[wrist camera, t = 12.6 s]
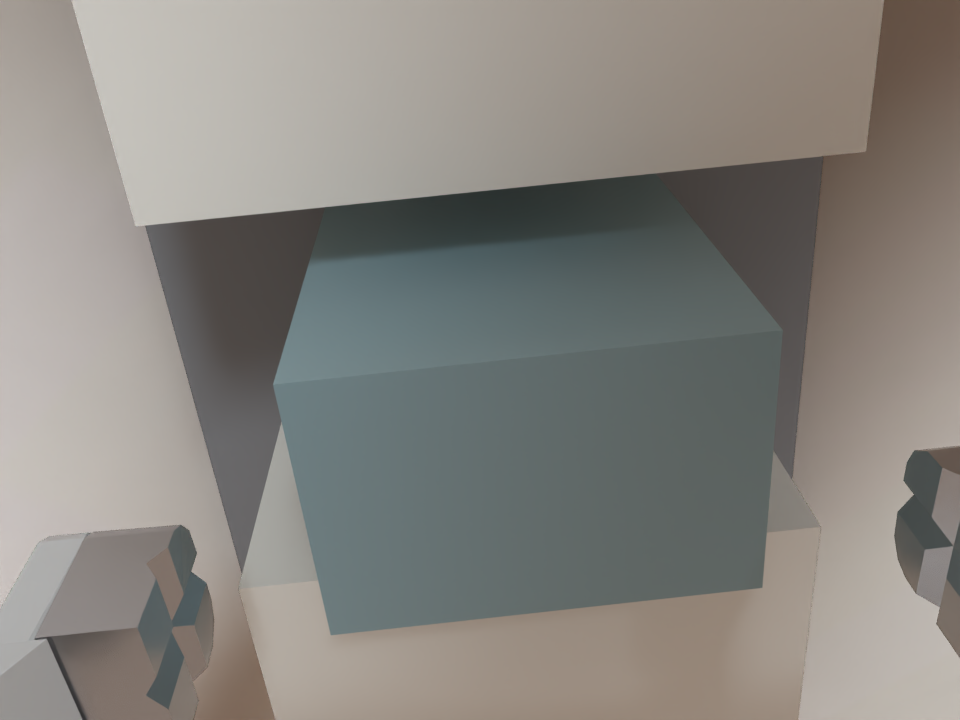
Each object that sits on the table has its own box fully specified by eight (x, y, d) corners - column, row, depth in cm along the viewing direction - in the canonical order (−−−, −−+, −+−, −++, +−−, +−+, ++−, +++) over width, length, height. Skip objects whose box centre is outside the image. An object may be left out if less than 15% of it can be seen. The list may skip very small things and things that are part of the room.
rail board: (37, -277, 16) (-249, -397, 9) (836, -354, 16) (1140, -527, 9) (266, 592, 25) (211, 847, 18) (763, 539, 25) (886, 773, 18)
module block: (332, 182, 17) (273, 384, 10) (637, 150, 18) (783, 330, 10) (363, 361, 19) (330, 635, 12) (638, 332, 19) (762, 588, 12)
